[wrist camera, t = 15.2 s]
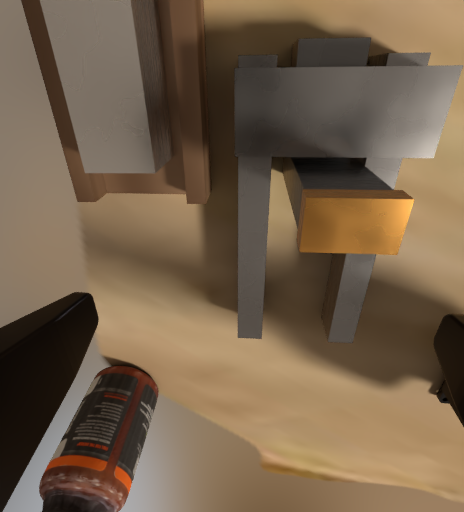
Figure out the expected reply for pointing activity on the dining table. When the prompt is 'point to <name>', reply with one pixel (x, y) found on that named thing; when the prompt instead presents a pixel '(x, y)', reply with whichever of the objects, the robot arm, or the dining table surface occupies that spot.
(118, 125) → the bar
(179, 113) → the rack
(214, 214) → the dining table surface
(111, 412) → the supplement bottle
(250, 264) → the socket
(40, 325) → the robot arm
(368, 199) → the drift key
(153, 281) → the dining table surface
